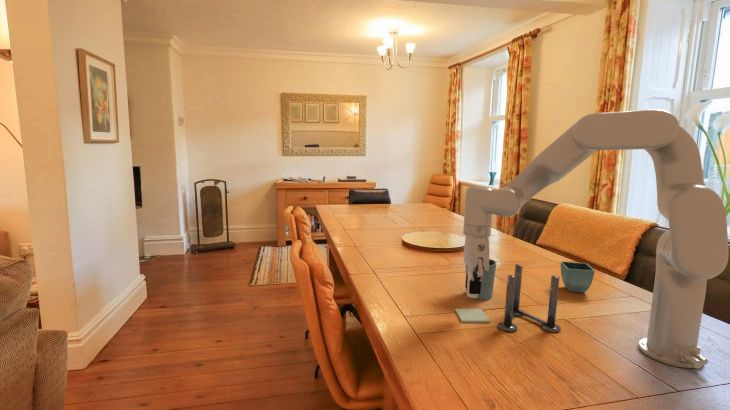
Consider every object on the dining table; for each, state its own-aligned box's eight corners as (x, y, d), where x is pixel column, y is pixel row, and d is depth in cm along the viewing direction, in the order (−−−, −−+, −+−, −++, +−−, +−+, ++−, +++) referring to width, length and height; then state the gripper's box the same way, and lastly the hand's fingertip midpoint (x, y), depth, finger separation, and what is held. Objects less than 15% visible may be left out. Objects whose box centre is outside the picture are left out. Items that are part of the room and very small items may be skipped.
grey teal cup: (473, 302, 125) (475, 266, 123) (457, 290, 134) (459, 257, 133) (500, 299, 127) (503, 264, 126) (483, 288, 137) (485, 255, 135)
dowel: (479, 298, 112) (481, 265, 110) (468, 298, 112) (470, 264, 110) (476, 294, 115) (478, 261, 113) (465, 293, 115) (467, 261, 113)
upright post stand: (564, 332, 105) (569, 280, 103) (501, 332, 105) (505, 279, 102) (539, 309, 120) (543, 263, 117) (484, 309, 120) (487, 262, 117)
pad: (489, 322, 110) (489, 320, 110) (461, 322, 110) (461, 320, 110) (481, 310, 118) (481, 309, 118) (455, 310, 118) (455, 308, 118)
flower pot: (593, 295, 132) (595, 270, 131) (565, 293, 134) (567, 268, 132) (584, 286, 140) (586, 263, 139) (557, 284, 142) (560, 261, 141)
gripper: (500, 237, 102) (494, 302, 105) (481, 224, 118) (477, 281, 121) (471, 236, 102) (467, 302, 105) (457, 223, 118) (453, 281, 121)
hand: (472, 290), depth 113 cm, fingers closed on dowel, 3 cm apart
